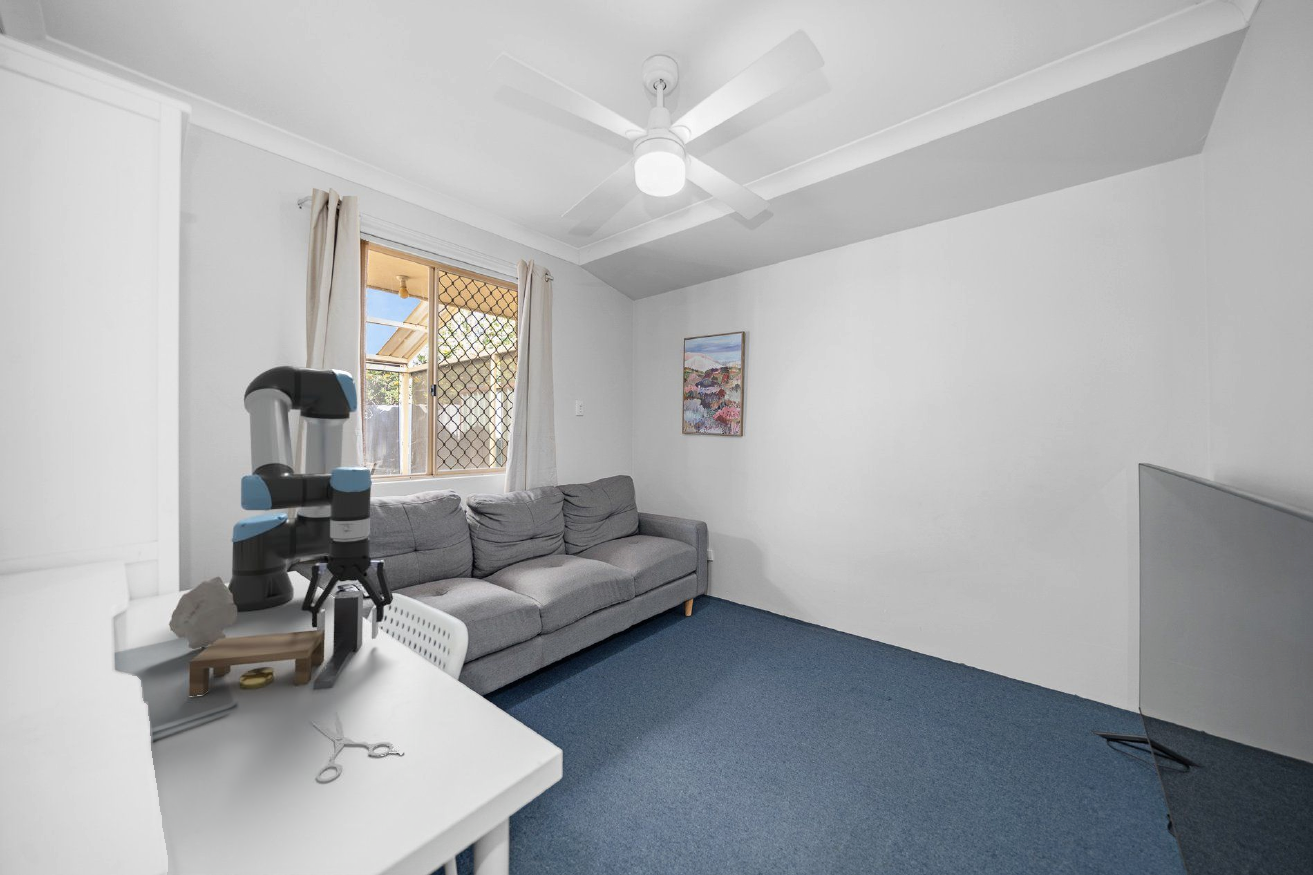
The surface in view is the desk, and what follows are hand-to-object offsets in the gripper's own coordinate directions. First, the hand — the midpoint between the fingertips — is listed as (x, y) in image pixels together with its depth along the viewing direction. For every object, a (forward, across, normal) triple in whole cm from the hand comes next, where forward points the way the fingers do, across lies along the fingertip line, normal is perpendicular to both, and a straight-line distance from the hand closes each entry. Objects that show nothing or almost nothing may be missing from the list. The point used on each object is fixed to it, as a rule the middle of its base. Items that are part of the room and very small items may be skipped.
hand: (348, 638), depth 110 cm
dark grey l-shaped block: (+2, 0, -8) cm, 8 cm away
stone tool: (+2, -29, +8) cm, 30 cm away
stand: (+2, -12, -10) cm, 16 cm away
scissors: (+3, +8, -36) cm, 37 cm away
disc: (+2, -12, -12) cm, 17 cm away
